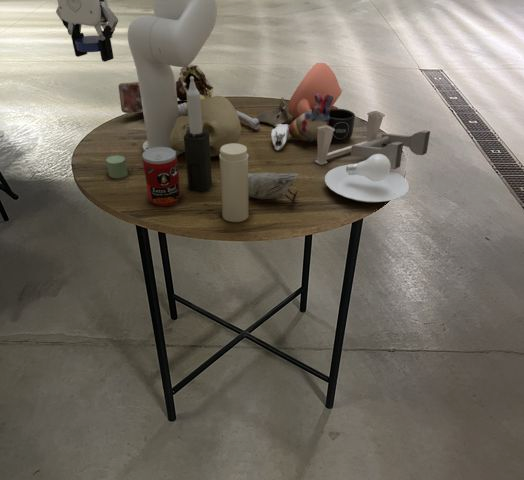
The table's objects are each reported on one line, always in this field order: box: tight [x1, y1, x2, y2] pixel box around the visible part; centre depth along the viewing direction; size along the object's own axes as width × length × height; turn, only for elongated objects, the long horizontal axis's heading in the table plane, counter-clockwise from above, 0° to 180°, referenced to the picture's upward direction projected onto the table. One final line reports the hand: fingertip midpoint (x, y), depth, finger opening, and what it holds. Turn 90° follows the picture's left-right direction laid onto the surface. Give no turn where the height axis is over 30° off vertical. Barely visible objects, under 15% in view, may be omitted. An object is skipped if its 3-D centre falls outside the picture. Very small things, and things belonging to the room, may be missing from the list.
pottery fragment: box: [253, 96, 289, 128], centre depth 155 cm, size 18×11×5 cm, turn 2°
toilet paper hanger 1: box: [314, 110, 386, 166], centre depth 133 cm, size 23×9×4 cm
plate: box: [324, 164, 410, 204], centre depth 120 cm, size 21×21×2 cm
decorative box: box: [118, 81, 177, 114], centre depth 154 cm, size 13×20×10 cm
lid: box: [75, 35, 101, 53], centre depth 104 cm, size 7×7×2 cm
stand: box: [105, 155, 129, 179], centre depth 124 cm, size 5×5×4 cm
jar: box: [218, 143, 250, 223], centre depth 106 cm, size 6×6×15 cm
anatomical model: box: [288, 94, 333, 143], centre depth 137 cm, size 10×9×15 cm
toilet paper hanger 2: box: [350, 129, 431, 170], centre depth 132 cm, size 22×13×6 cm, turn 143°
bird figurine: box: [270, 123, 290, 151], centre depth 140 cm, size 5×7×10 cm
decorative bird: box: [249, 172, 300, 205], centre depth 114 cm, size 5×16×8 cm, turn 77°
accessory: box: [287, 136, 318, 147], centre depth 143 cm, size 9×9×1 cm
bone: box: [235, 109, 261, 131], centre depth 151 cm, size 18×5×4 cm
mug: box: [328, 108, 356, 143], centre depth 143 cm, size 12×9×7 cm
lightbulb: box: [346, 154, 392, 181], centre depth 118 cm, size 6×6×11 cm
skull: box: [170, 95, 242, 158], centre depth 132 cm, size 14×17×20 cm
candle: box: [184, 76, 213, 193], centre depth 112 cm, size 5×5×25 cm
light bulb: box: [178, 95, 205, 117], centre depth 154 cm, size 6×6×10 cm
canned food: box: [141, 147, 182, 207], centre depth 112 cm, size 8×8×11 cm
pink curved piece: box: [287, 62, 343, 119], centre depth 149 cm, size 25×17×13 cm
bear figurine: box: [175, 64, 214, 103], centre depth 164 cm, size 14×15×12 cm
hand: (94, 56), depth 106 cm, fingers closed on lid, 6 cm apart
